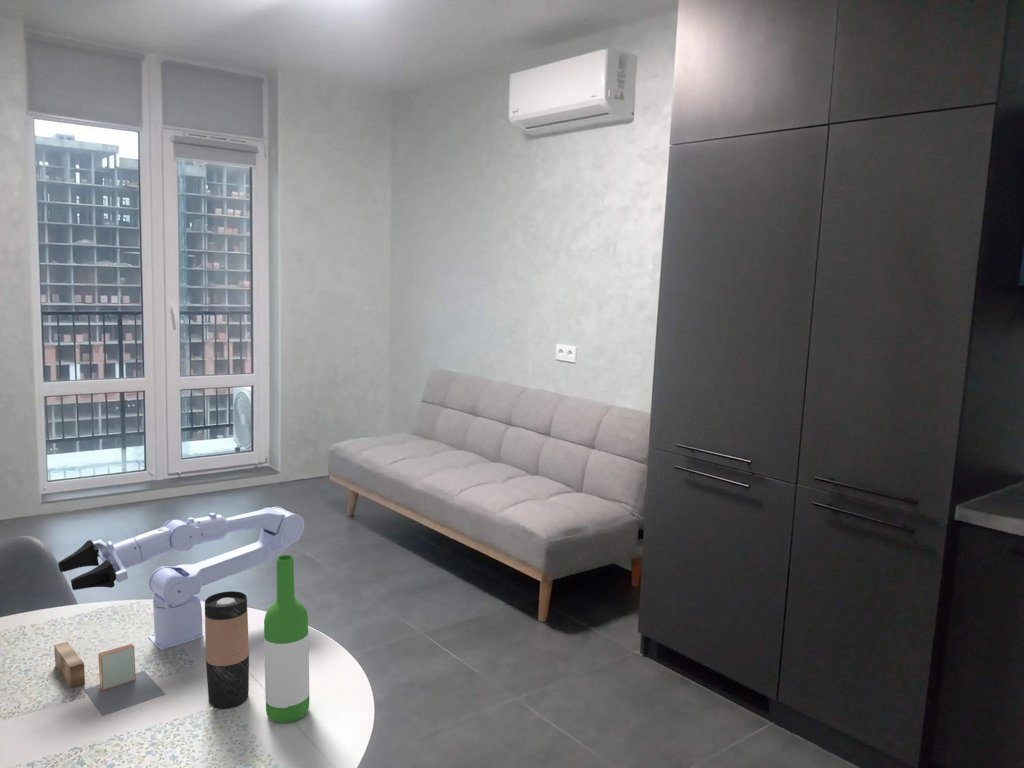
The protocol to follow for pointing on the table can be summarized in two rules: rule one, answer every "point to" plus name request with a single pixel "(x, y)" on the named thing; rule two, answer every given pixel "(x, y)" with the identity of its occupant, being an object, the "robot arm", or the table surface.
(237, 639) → the travel mug
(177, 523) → the robot arm
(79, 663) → the bar
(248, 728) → the table surface
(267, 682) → the wine bottle
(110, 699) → the mat
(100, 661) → the block
